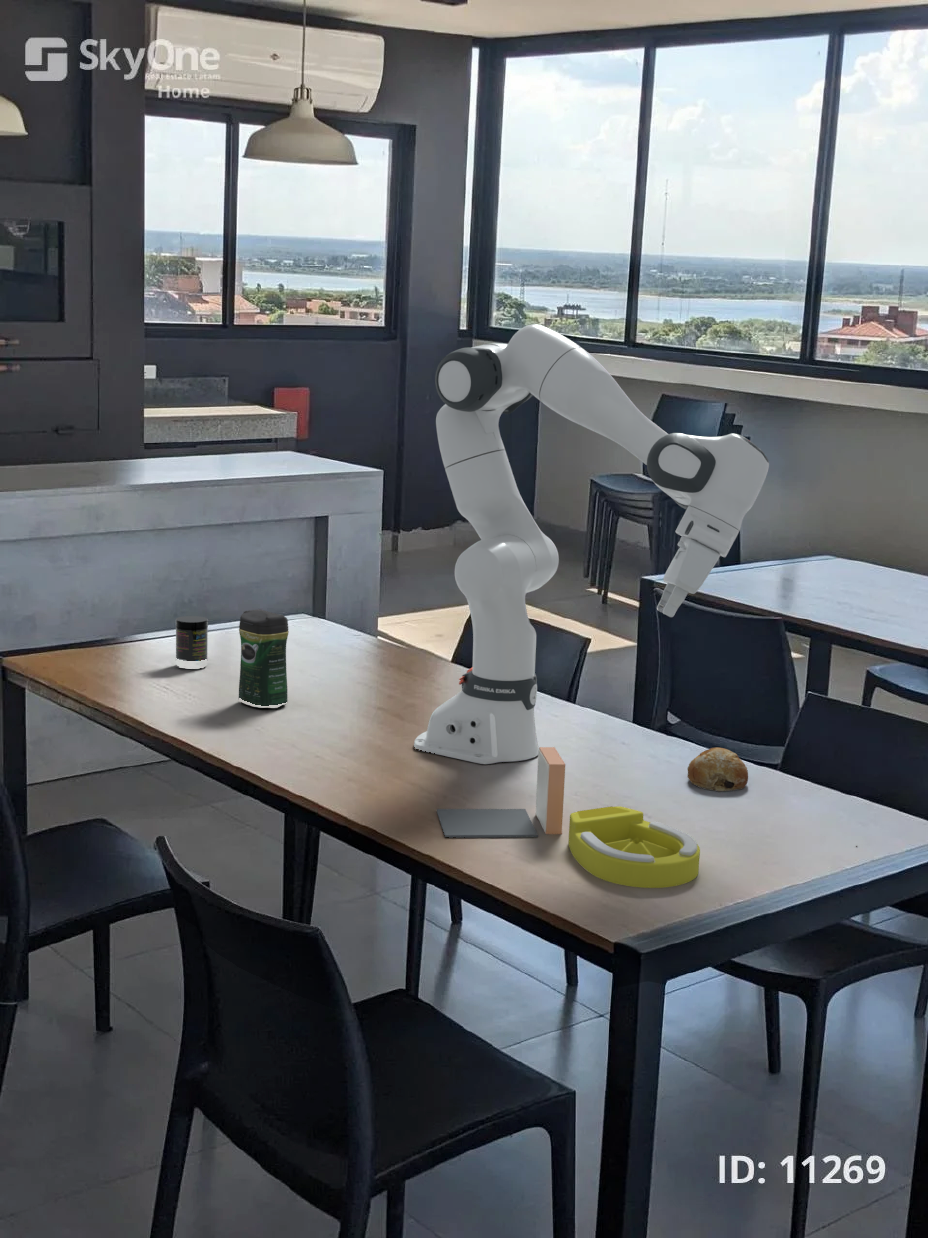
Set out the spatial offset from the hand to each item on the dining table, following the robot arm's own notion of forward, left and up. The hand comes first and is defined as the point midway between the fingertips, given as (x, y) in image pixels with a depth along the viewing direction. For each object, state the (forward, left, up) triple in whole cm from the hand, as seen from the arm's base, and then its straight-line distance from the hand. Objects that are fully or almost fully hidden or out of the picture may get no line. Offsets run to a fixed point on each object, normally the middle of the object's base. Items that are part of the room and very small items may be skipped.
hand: (663, 613), depth 240 cm
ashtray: (+4, -26, -32) cm, 42 cm away
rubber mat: (-21, -21, -31) cm, 43 cm away
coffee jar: (-84, +25, -32) cm, 93 cm away
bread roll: (+7, +17, -32) cm, 37 cm away
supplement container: (-112, +45, -32) cm, 125 cm away
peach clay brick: (-12, -16, -31) cm, 37 cm away
